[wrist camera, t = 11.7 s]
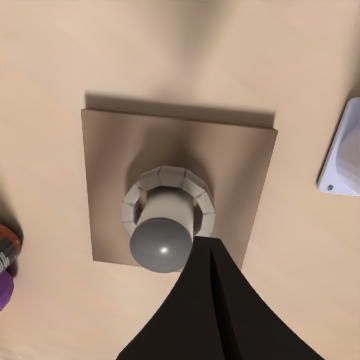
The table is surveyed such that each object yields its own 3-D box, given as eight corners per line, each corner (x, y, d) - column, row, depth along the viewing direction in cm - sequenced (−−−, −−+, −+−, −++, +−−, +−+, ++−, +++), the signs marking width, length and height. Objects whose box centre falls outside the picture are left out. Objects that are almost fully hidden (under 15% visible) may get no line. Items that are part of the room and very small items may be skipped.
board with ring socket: (273, 128, 18) (287, 135, 15) (236, 271, 25) (241, 296, 22) (87, 108, 19) (67, 112, 16) (97, 253, 25) (84, 274, 22)
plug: (195, 186, 20) (195, 225, 14) (191, 227, 21) (189, 275, 16) (147, 182, 20) (128, 219, 14) (147, 223, 22) (130, 269, 16)
